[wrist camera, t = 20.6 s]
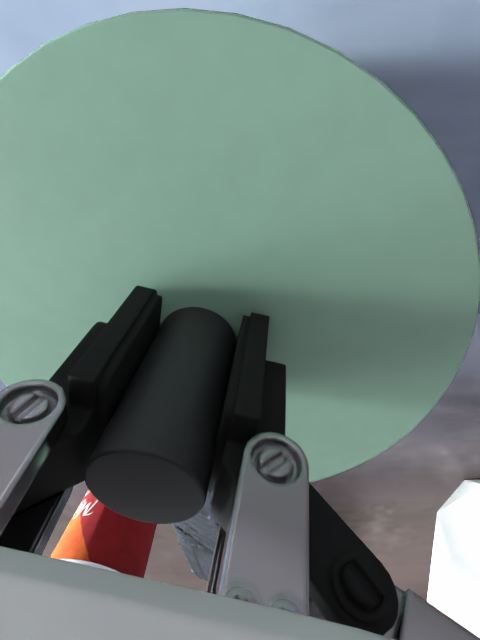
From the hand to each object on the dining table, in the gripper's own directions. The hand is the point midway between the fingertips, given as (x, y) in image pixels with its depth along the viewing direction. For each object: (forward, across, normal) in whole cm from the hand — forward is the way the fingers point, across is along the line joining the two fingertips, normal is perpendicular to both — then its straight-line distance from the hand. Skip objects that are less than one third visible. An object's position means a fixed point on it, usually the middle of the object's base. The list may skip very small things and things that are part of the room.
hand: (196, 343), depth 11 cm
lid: (+1, 0, 0) cm, 1 cm away
